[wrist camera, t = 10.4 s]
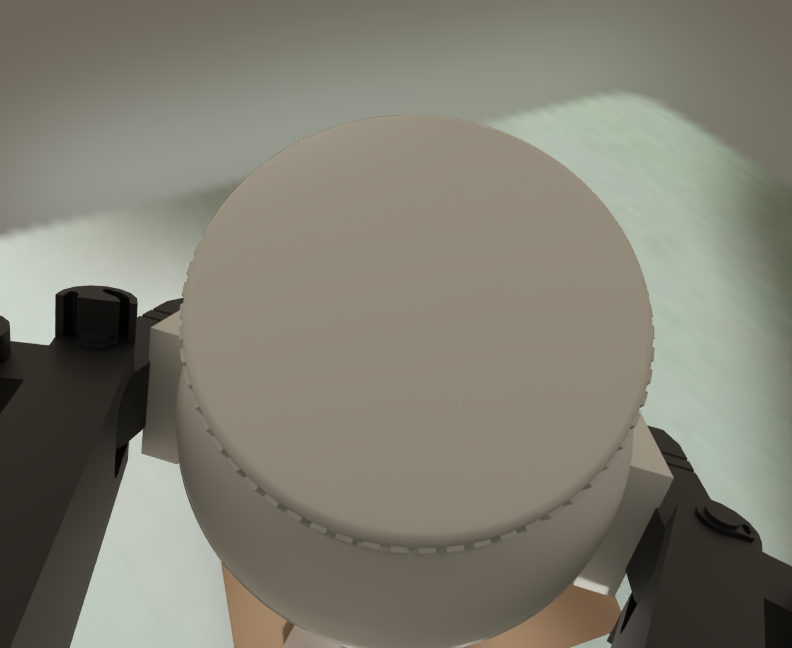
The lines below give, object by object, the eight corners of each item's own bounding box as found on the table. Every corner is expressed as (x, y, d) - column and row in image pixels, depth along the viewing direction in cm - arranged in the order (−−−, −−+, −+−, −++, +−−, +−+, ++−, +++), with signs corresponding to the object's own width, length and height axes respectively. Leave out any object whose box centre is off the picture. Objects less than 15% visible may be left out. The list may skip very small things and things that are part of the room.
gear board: (490, 314, 28) (499, 295, 26) (611, 623, 22) (633, 628, 20) (202, 387, 25) (189, 373, 24) (259, 747, 20) (248, 765, 18)
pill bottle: (237, 567, 19) (-135, 553, 5) (318, 350, 22) (233, -29, 8) (470, 643, 18) (802, 872, 4) (518, 408, 21) (796, 107, 7)
